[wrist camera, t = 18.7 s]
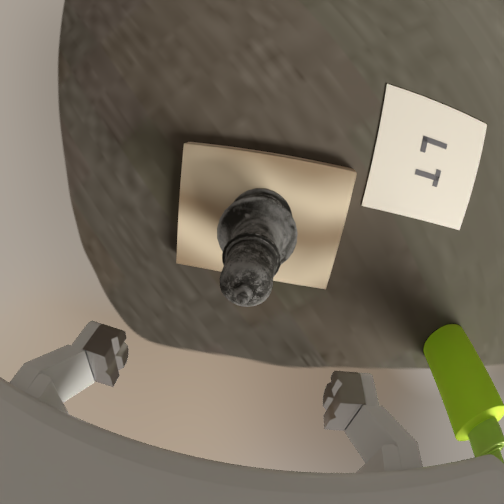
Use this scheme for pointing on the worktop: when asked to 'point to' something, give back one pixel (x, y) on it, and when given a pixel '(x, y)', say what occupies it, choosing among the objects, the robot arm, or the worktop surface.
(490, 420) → the soap dispenser
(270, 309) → the worktop surface
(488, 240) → the worktop surface
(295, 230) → the dark grey turned piece
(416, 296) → the worktop surface
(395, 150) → the card
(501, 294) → the worktop surface
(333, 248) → the serving board
